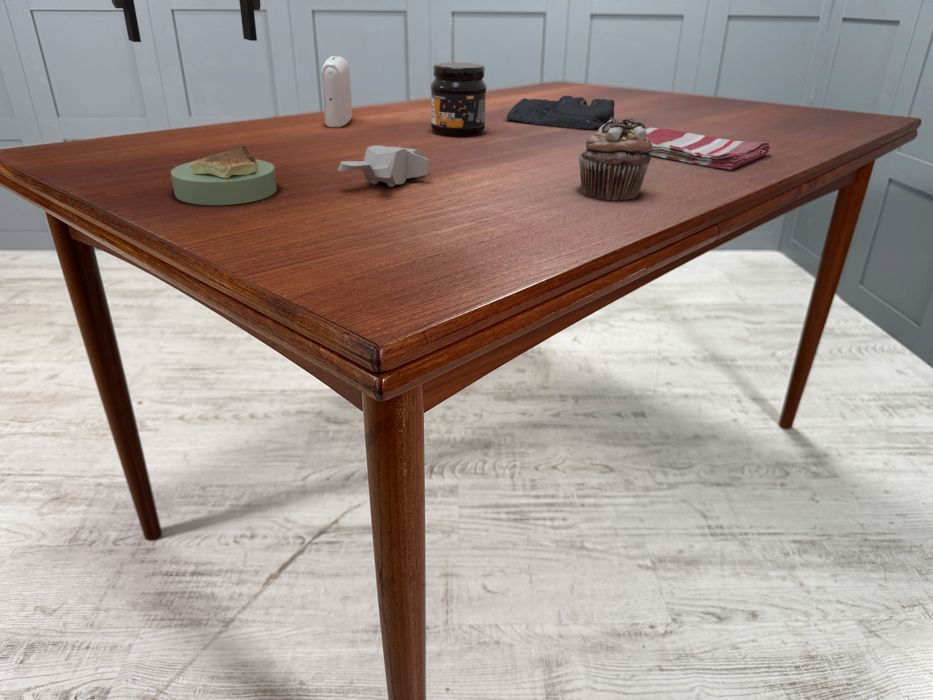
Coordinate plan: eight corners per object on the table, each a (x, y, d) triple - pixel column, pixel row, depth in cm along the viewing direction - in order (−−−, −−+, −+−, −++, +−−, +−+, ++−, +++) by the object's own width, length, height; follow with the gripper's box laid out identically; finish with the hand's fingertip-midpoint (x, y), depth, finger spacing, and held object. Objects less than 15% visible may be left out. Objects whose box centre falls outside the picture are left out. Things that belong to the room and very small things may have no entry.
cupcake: (620, 181, 99) (630, 111, 94) (658, 199, 91) (671, 123, 86) (563, 186, 96) (570, 113, 91) (597, 204, 88) (606, 126, 83)
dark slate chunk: (523, 110, 153) (524, 88, 151) (618, 119, 146) (621, 96, 144) (500, 121, 141) (501, 97, 138) (603, 131, 133) (606, 106, 131)
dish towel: (732, 171, 106) (736, 154, 105) (604, 148, 120) (606, 132, 118) (769, 155, 118) (773, 139, 116) (648, 135, 131) (650, 121, 130)
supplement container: (419, 132, 128) (419, 64, 122) (450, 124, 136) (451, 60, 130) (465, 139, 123) (467, 69, 117) (495, 131, 131) (498, 65, 125)
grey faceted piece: (443, 147, 98) (391, 155, 85) (441, 183, 100) (390, 195, 87) (387, 140, 101) (329, 146, 88) (386, 174, 103) (329, 185, 90)
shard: (245, 156, 94) (243, 143, 93) (290, 163, 92) (288, 149, 91) (189, 173, 85) (186, 159, 84) (237, 181, 83) (235, 166, 82)
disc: (163, 186, 91) (159, 164, 89) (256, 174, 97) (254, 154, 96) (191, 211, 81) (186, 187, 80) (291, 196, 88) (289, 173, 87)
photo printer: (344, 128, 130) (340, 59, 124) (322, 127, 130) (317, 58, 124) (354, 118, 139) (351, 54, 133) (334, 118, 139) (329, 53, 133)
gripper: (31, -209, 61) (86, 44, 72) (289, -167, 74) (304, 41, 85) (22, -196, 67) (74, 38, 77) (264, -159, 80) (281, 36, 90)
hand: (195, 40), depth 81 cm, fingers open, 13 cm apart
